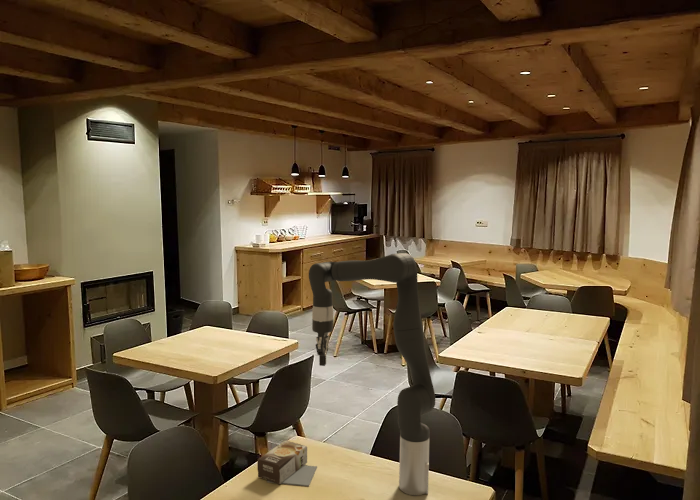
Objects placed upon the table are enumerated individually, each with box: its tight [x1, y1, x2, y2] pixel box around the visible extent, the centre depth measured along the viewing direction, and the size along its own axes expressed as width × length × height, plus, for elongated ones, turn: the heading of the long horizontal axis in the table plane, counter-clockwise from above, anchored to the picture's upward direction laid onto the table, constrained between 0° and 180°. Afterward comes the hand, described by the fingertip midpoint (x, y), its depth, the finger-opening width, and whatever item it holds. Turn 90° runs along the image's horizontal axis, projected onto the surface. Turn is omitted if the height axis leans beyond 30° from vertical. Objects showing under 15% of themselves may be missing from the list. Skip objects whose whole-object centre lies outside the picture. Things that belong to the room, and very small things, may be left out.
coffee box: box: [257, 439, 308, 485], centre depth 175 cm, size 9×6×16 cm
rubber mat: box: [266, 464, 318, 487], centre depth 174 cm, size 14×12×1 cm
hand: (322, 365), depth 188 cm, fingers closed
